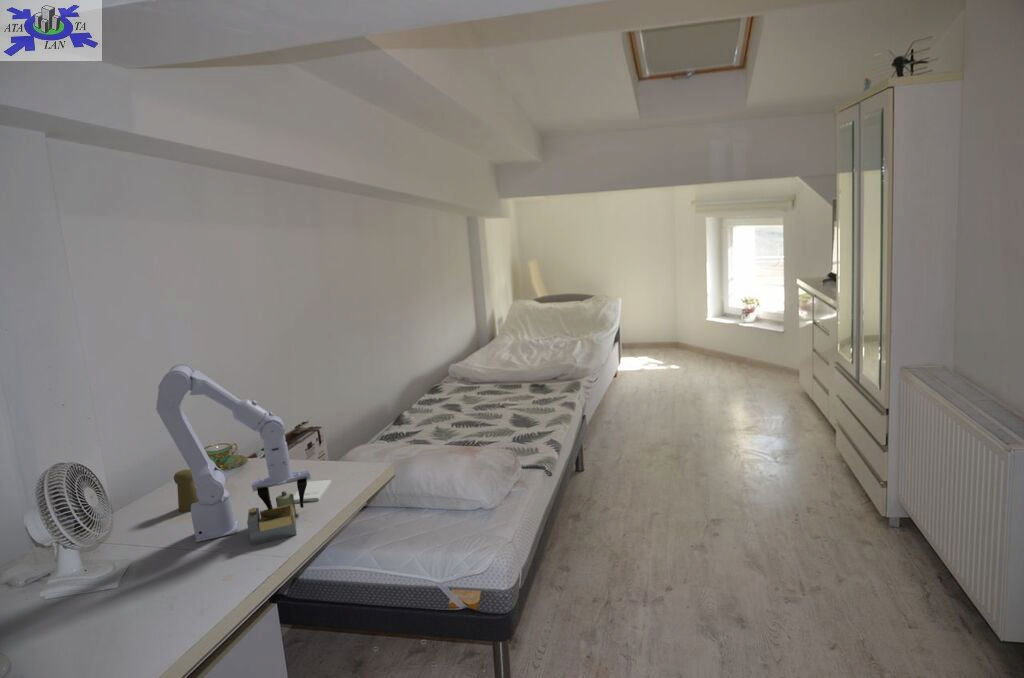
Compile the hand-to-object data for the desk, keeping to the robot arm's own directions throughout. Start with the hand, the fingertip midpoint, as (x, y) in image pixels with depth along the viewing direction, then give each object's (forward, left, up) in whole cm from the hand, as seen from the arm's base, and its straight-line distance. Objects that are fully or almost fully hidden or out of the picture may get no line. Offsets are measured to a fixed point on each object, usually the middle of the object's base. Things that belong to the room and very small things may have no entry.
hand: (286, 509), depth 173 cm
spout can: (0, 0, -2) cm, 2 cm away
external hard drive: (+6, +13, -3) cm, 15 cm away
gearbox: (-3, -9, -2) cm, 10 cm away
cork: (-27, +22, -2) cm, 35 cm away
